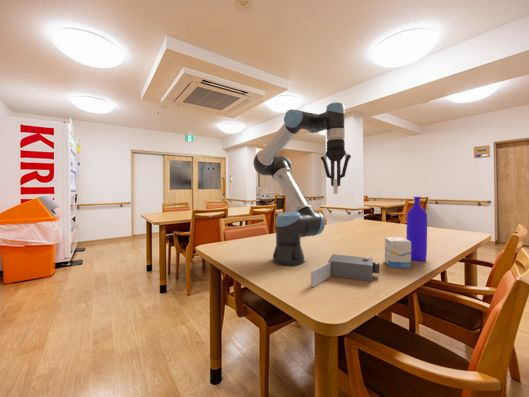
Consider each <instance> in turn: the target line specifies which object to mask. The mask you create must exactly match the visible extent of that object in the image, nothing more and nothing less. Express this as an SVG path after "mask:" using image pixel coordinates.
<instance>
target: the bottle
mask: <svg viewBox="0 0 529 397" xmlns="http://www.w3.org/2000/svg"><path fill="white" fill-rule="evenodd" d="M412 197H413V199H414V205H413V206H412V207H411V208H410V209H409V210H408V211H407V214H406V239H407V240H409V241H411V261H414V262H425V261H426V260H427V253H428V252H427V251H428V214H427V212H426V210H425V209H424V208H423V207H422V206H421V204H420V199H421V196H412Z"/></svg>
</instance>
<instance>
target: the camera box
mask: <svg viewBox="0 0 529 397" xmlns="http://www.w3.org/2000/svg"><path fill="white" fill-rule="evenodd" d="M373 260H374V259H373V257H367V256H354V255H342V254H335V253H334V254H333V253H332V254H331V255H330V257H329V259H328V261H327V262H331V277H336V278H344V279H350V280H352V279H353V280H356V281H357V280H359V281H366V282H373V274H378V275H380V262H374V261H373Z"/></svg>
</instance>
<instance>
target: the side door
mask: <svg viewBox="0 0 529 397" xmlns="http://www.w3.org/2000/svg"><path fill="white" fill-rule="evenodd" d="M329 278H332V276H331V262H328V261H327V262H326V263H322V265H320V266H317V267H316V268H314V269H312V270H311V271H310V287H312V288H314V287H316V286H318V285H319V284H321V283H322V282H324V281H326V280H327V279H329Z"/></svg>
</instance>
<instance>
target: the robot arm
mask: <svg viewBox="0 0 529 397" xmlns="http://www.w3.org/2000/svg"><path fill="white" fill-rule="evenodd" d="M345 114H346V112H345V104H344V103H342V102H339V101H338V102H331V103H329V104H328V105H326V111H325V112H322V113H318V114H317V113H314V112H313V113H312V112H308V111H307V112H306V111H303V110H299V109H292V108H291V109H289V110H286V112H285V115H284V117H283V122H284V123H283V124H282V126H280V128H279V129H278V130H277V131H276V133H275V134H274V135H273V136H272V138H271V139H270V140H269V141H268V142H267V144H266V145H265V146H264V147H263V148H262V149H261V150H259V151H258V152H257V153H256V154H255V156H254V158H253V167H254V169H255V171H256V173H258V174H259V175H262V176H271V177H272V179H273V181H274V182H277V183H278V186H279V188H280V189H281V191H282V193H283V195H284V197H285V198H286V200H287V202H288V204H289V206H290V208H291V210H292V211H284V212H281V213H278V214H277V215H276V217H275V241H276V242H275V244H276V245H275V248H274V251H273V254H272V262H273V263H274V264H277V265H280V266H287V267H288V266H289V267H293V266H298V265H301V264H304V262H305V255H304V252H303V248H302V245H301V238H306V237H307V238H308V237H314V236H317V235H320V234H322V233H323V232H324V230H325V225H326V219H325V216H324V215H323V214H322V213H321V212H318V211H315V209H314V207H313V206H312V205H309V204H308V203H307V201H306V199H305V197H304V196H303V194H302V192H301V190H300V189H299V187H298V184H296V182H295V179H294V178H293V177H292V168H293V166H292V165H293V164H292V162H291V160H290V159H289V158H288V157H287V156H283V155H279V154H280V152H281V151H282V150H283V149H284V148H285V147H286V146H287V144H289V143H290V141H292V139H293V138H295V136H296V135H297V134H298V133H299V132H300V130H306V131H307V132H309V133H310V134H314V133H315V134H317V133H319V132H323V131H325V130H326V140H327V141H326V152H325V154H324V155H323V156H321V157H320V160H321V161H322V162H323V167H324V171H325V174H326V178H328V179H330V185H331V187H333V194H334V195H335V194H339V187H341V179H342V178H345V177H346V173H347V170H348V169H347V168H348V164H349V161H350V160H351V157H352V155H351V154H348V153H347V152H346V149H345V144H346V143H345V142H346V141H345V116H346V115H345ZM278 155H279V156H278ZM343 158H344V162H343V167H342V171H341V162H342V159H343ZM327 160H329V162H330V169H329V164H328V161H327ZM335 162H336V163H335ZM335 164H336V174H335ZM335 176H336V177H335Z"/></svg>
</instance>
